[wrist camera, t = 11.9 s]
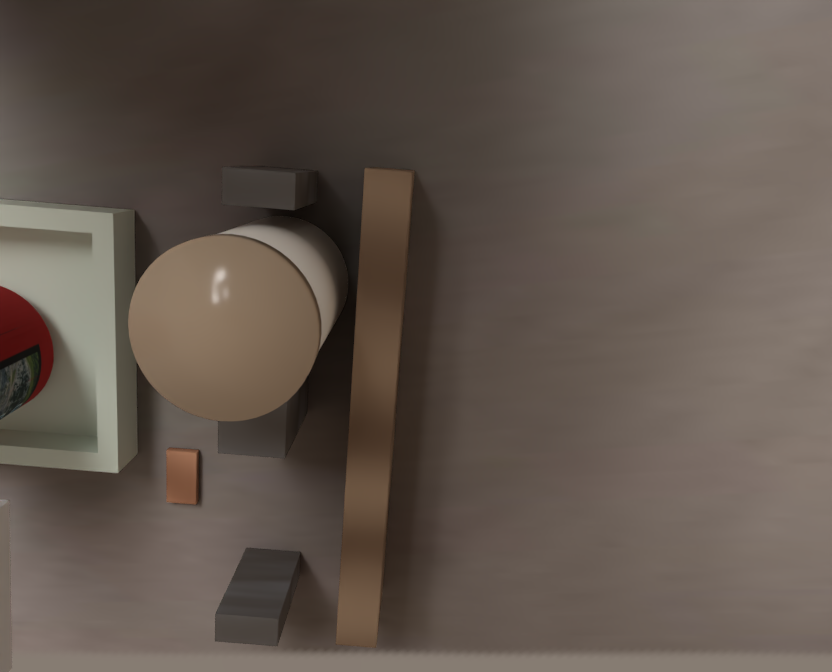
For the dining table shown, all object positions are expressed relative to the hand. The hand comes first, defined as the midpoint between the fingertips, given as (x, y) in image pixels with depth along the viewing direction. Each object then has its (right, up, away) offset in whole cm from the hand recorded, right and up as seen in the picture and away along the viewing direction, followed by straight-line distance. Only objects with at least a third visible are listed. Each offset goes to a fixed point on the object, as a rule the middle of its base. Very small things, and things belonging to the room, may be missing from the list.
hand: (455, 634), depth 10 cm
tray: (-21, +5, +27) cm, 35 cm away
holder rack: (-8, +2, +27) cm, 28 cm away
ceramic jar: (-7, +7, +26) cm, 28 cm away
